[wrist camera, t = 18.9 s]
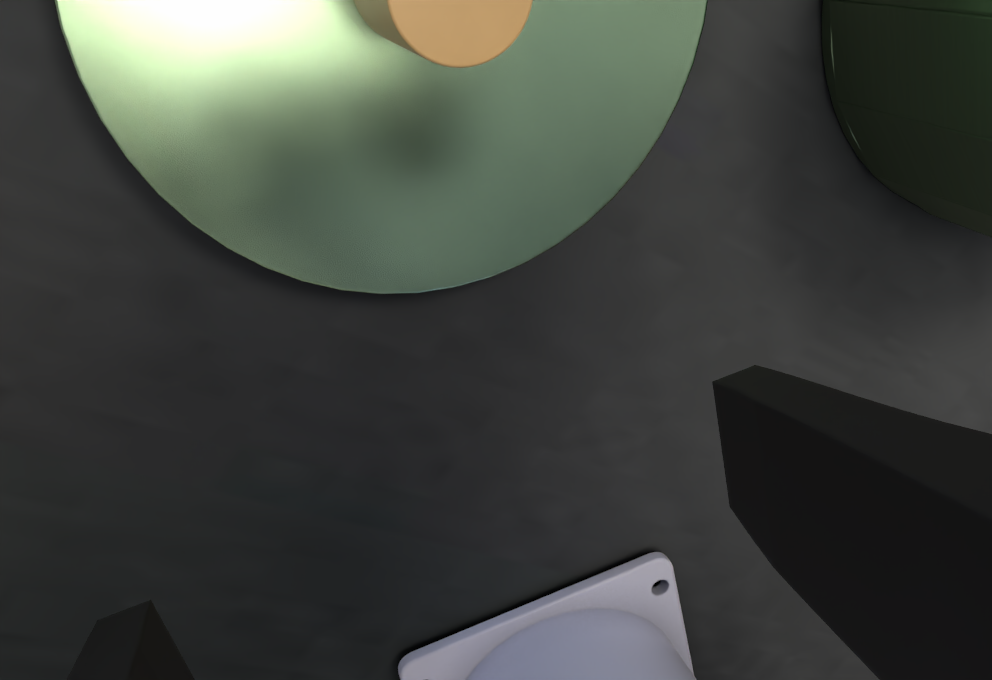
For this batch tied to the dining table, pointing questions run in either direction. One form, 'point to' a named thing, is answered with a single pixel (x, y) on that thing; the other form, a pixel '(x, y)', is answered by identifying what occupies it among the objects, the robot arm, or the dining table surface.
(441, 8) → the lid
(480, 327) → the dining table surface
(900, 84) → the tin
